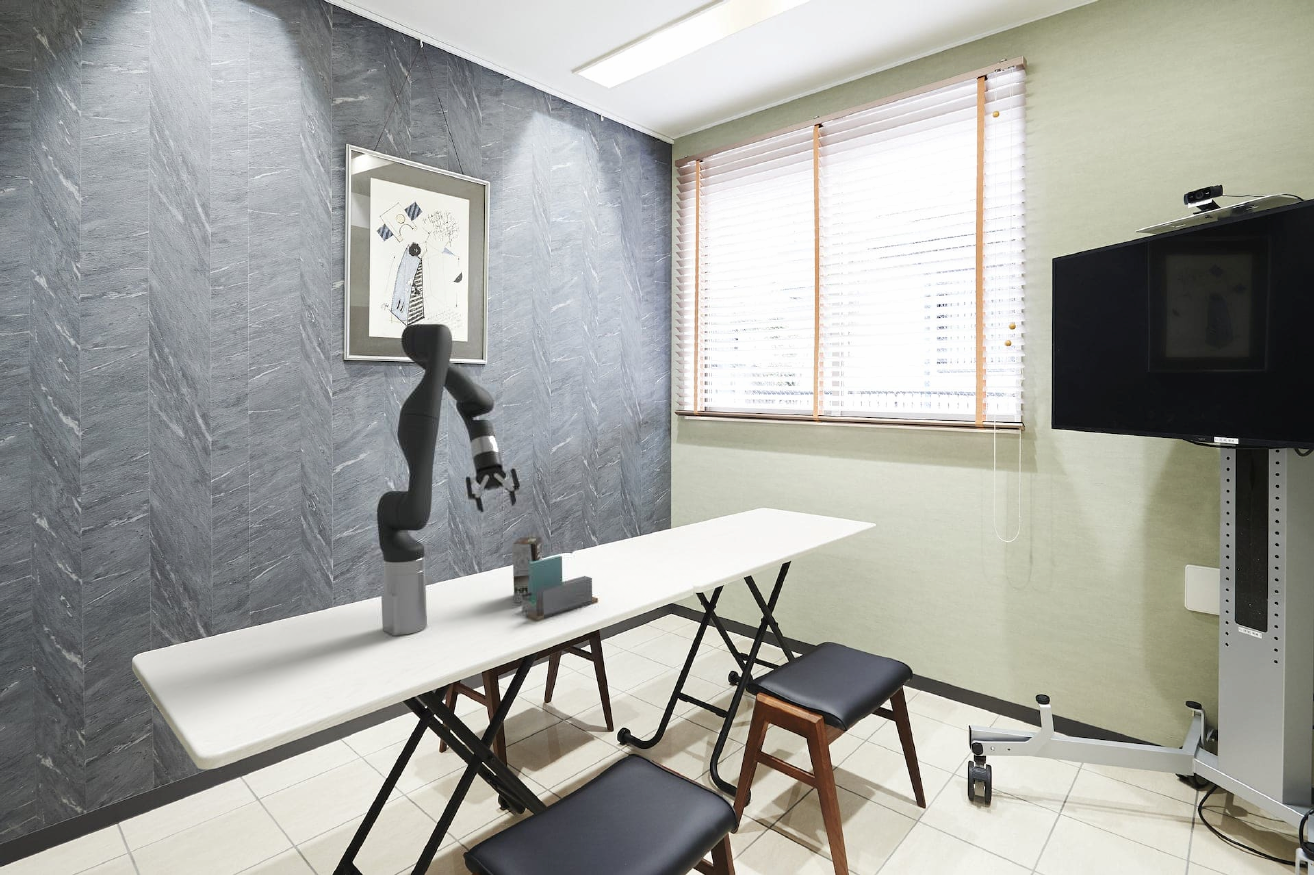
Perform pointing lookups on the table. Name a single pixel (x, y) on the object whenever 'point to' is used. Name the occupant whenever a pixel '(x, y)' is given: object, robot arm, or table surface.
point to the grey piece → (559, 598)
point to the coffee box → (524, 564)
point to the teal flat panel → (544, 574)
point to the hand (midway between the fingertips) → (497, 508)
